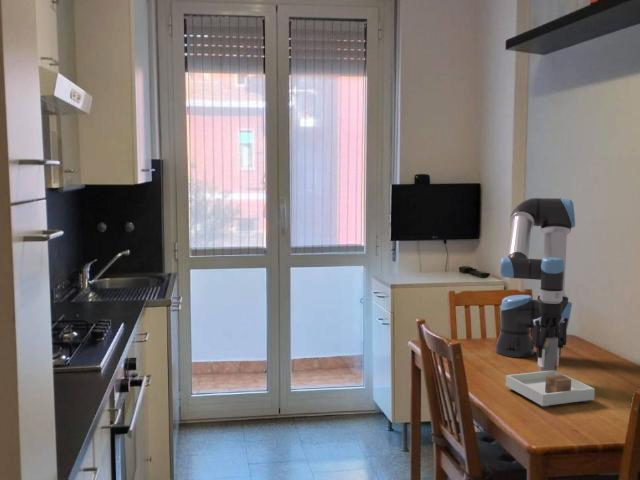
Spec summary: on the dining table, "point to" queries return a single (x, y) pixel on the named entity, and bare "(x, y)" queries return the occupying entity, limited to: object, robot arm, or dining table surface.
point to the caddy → (535, 389)
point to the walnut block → (557, 383)
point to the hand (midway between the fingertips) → (548, 365)
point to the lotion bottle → (550, 350)
